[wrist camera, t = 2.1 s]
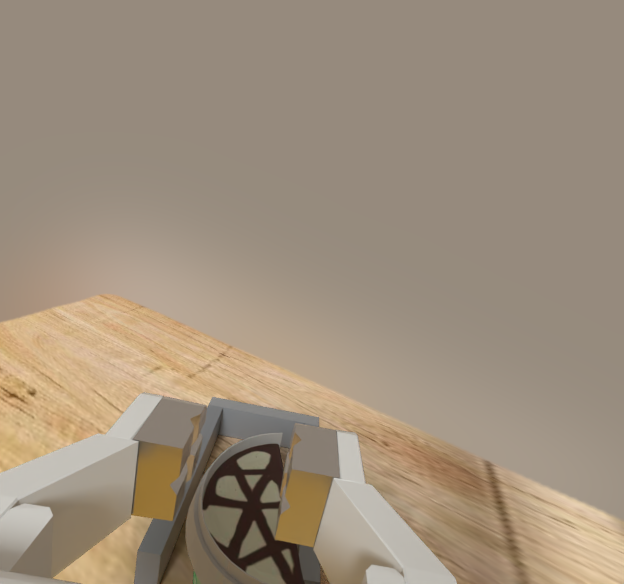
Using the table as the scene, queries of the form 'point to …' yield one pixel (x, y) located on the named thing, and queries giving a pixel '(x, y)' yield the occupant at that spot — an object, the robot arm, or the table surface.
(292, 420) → the grey rectangular tray
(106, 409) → the table surface
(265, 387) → the table surface
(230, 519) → the food container
